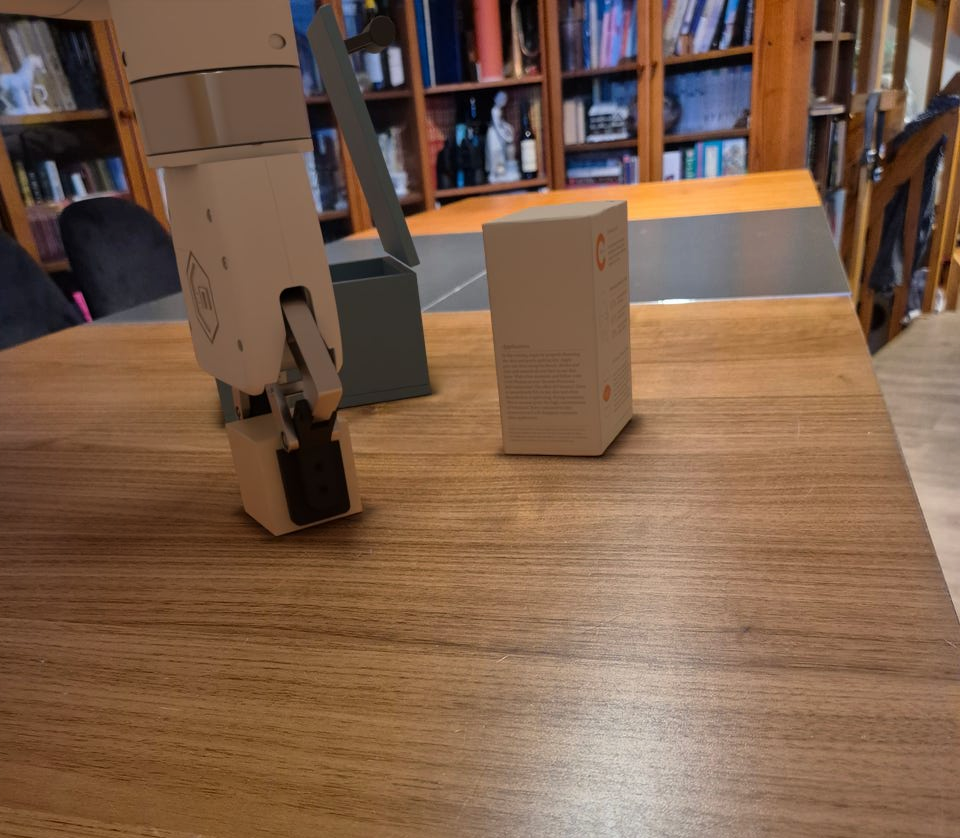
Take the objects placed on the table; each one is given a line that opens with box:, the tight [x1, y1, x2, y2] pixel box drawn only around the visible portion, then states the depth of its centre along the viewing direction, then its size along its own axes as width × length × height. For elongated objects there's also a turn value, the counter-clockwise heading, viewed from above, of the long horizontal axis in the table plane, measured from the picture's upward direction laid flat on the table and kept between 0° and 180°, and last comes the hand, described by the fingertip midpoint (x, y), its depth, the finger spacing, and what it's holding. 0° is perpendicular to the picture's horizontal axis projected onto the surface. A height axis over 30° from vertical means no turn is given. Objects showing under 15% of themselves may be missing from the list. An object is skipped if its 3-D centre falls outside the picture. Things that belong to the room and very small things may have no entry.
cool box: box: [214, 255, 432, 424], centre depth 74 cm, size 16×14×9 cm
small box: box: [481, 199, 634, 457], centre depth 55 cm, size 8×6×13 cm
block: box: [224, 408, 363, 537], centre depth 50 cm, size 5×5×5 cm
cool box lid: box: [305, 2, 421, 269], centre depth 69 cm, size 16×14×5 cm
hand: (300, 500), depth 51 cm, fingers closed on block, 5 cm apart
